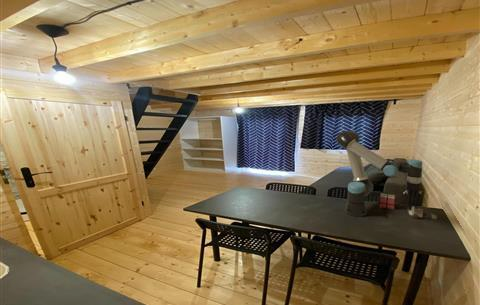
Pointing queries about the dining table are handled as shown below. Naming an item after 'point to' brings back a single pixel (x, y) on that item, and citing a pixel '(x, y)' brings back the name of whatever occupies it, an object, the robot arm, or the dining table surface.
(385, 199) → the puzzle cube
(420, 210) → the dial
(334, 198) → the dining table surface
